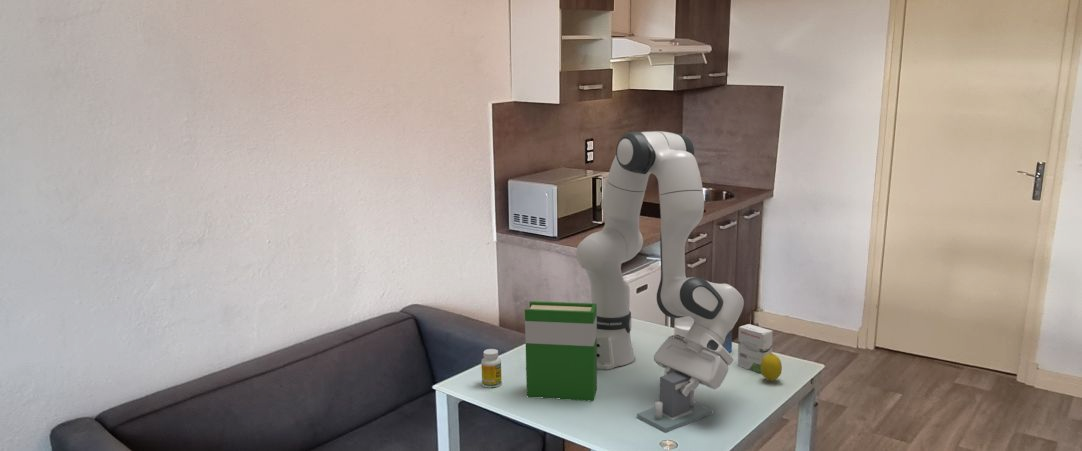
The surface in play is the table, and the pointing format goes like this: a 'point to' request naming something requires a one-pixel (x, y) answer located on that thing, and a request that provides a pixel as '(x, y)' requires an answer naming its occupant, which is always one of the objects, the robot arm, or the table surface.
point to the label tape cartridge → (728, 342)
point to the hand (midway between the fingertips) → (673, 390)
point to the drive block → (674, 394)
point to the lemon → (771, 367)
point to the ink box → (753, 346)
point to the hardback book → (561, 350)
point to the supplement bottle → (491, 368)
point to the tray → (670, 423)
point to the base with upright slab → (683, 325)
